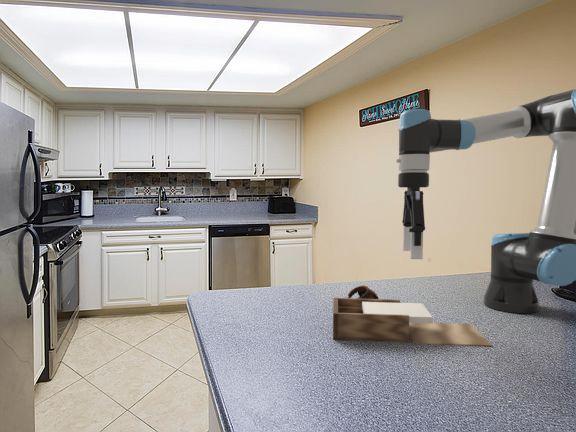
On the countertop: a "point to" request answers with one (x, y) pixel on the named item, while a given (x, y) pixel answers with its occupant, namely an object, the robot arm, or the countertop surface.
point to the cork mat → (446, 334)
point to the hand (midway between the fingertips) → (412, 254)
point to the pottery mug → (363, 293)
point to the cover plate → (399, 310)
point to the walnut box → (367, 322)
